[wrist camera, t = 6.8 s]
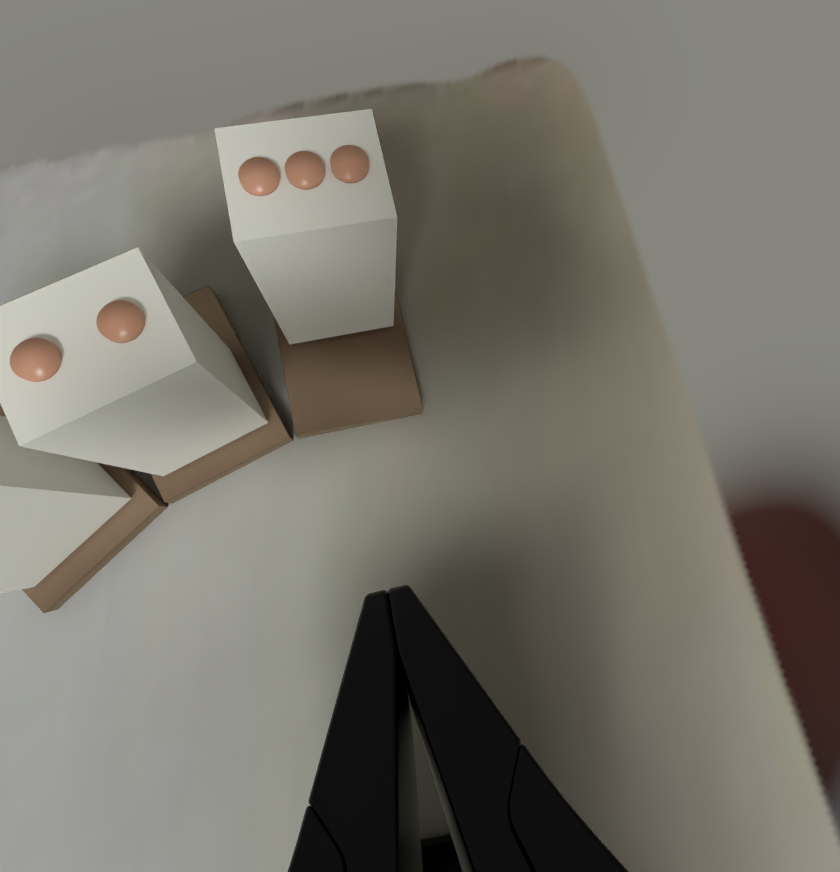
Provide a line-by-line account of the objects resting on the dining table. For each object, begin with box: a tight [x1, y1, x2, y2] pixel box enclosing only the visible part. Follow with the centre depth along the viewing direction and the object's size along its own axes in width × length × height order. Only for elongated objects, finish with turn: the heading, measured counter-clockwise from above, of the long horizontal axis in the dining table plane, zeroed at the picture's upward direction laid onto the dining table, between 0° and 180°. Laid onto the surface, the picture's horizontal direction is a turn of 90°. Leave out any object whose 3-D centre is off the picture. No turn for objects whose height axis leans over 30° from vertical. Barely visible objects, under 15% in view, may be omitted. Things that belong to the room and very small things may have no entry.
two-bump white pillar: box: [0, 247, 268, 476], centre depth 17 cm, size 4×5×8 cm
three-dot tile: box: [215, 109, 397, 345], centre depth 18 cm, size 4×5×8 cm
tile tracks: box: [0, 285, 423, 613], centre depth 21 cm, size 22×16×1 cm
